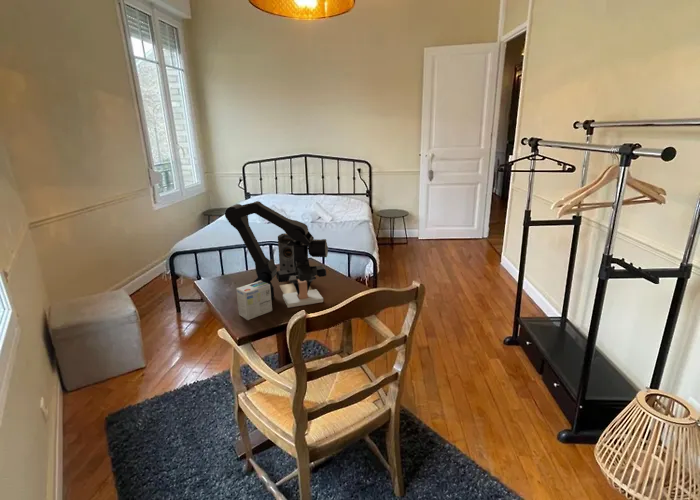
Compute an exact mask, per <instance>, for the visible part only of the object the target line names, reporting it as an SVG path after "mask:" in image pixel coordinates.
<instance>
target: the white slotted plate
mask: <svg viewBox="0 0 700 500" xmlns="http://www.w3.org/2000/svg"><path fill="white" fill-rule="evenodd" d="M307 294H308V298H306V299H300V300H299V298H298V294H297V292H294V293H287V294H283V293H282V299H283V301H284V303H285V304H286V306H287V308H294V307H299V306H306V305H313V304H318V303H323V302H324V297H323V296H322V295H321V294H320V292H319V291H318V289H316V288H314V289H313V290H308V293H307Z"/></svg>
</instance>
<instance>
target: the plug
mask: <svg viewBox="0 0 700 500" xmlns="http://www.w3.org/2000/svg"><path fill="white" fill-rule="evenodd" d="M298 288H299V295H298V298H299V300H300V299H306V298H308V294H307V282H306V280H305V281H300V280H299V279H298Z"/></svg>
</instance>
